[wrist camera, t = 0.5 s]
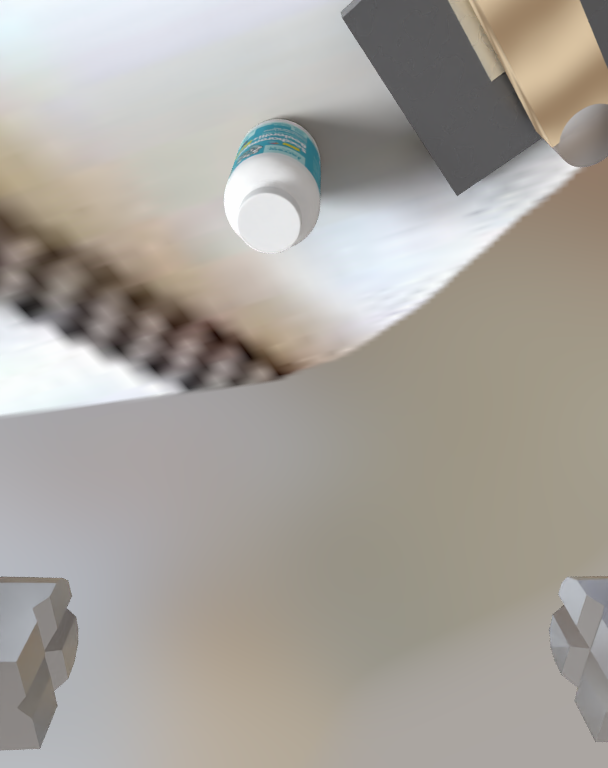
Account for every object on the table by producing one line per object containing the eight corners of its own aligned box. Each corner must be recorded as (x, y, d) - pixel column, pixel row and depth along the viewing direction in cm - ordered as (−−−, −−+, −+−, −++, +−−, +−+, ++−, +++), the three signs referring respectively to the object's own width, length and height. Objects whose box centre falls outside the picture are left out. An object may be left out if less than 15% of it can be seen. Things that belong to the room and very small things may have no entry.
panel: (600, -230, 35) (629, -243, 31) (684, 34, 44) (713, 44, 40) (340, 12, 43) (342, 20, 40) (456, 191, 52) (465, 210, 49)
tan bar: (613, 122, 44) (636, 138, 41) (552, 163, 46) (569, 181, 43) (487, -174, 33) (505, -182, 30) (415, -104, 35) (424, -105, 32)
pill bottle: (311, 107, 48) (311, 163, 37) (327, 191, 52) (330, 261, 42) (227, 126, 49) (204, 185, 38) (249, 206, 53) (234, 278, 43)
